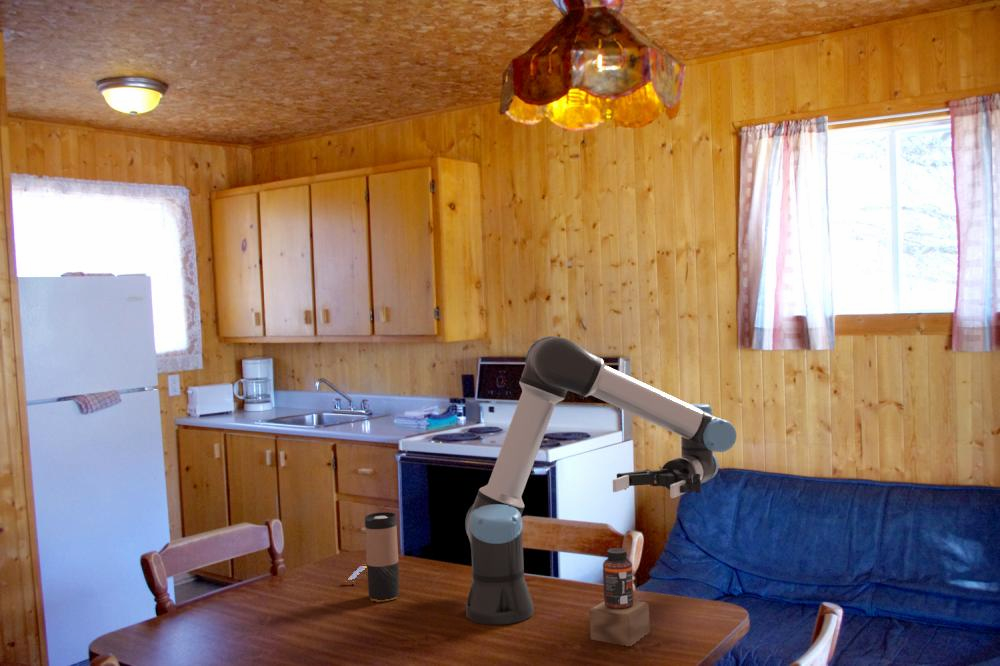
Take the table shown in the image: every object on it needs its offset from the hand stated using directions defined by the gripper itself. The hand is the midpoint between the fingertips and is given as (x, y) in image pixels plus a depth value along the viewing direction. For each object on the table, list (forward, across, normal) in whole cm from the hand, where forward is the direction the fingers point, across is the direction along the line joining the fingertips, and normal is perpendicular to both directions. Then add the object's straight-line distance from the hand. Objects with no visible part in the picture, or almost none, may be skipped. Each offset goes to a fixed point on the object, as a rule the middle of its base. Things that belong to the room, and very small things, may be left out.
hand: (642, 488), depth 189 cm
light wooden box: (+12, 0, -28) cm, 31 cm away
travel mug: (+15, +62, -30) cm, 70 cm away
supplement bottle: (+12, 0, -22) cm, 25 cm away
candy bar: (+5, +80, -30) cm, 86 cm away
